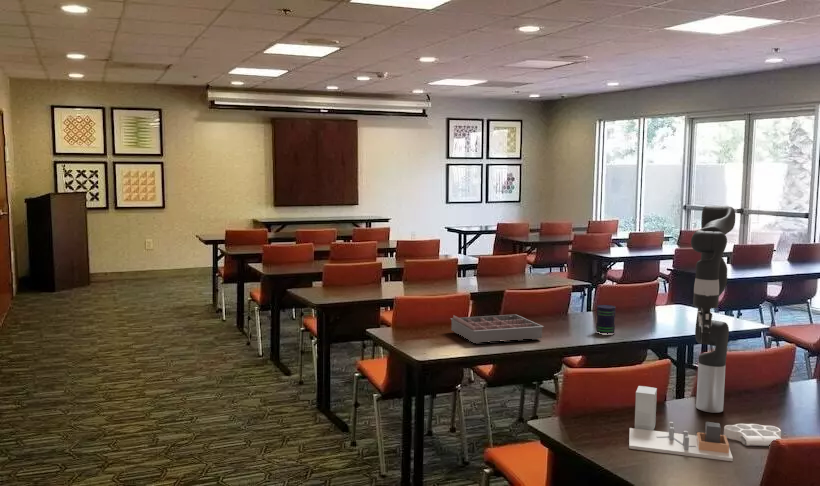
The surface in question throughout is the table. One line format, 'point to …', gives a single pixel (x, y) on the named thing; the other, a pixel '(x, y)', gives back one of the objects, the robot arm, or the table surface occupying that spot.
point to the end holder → (712, 444)
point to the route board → (671, 443)
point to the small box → (645, 408)
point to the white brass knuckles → (752, 434)
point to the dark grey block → (712, 432)
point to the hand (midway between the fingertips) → (703, 341)
